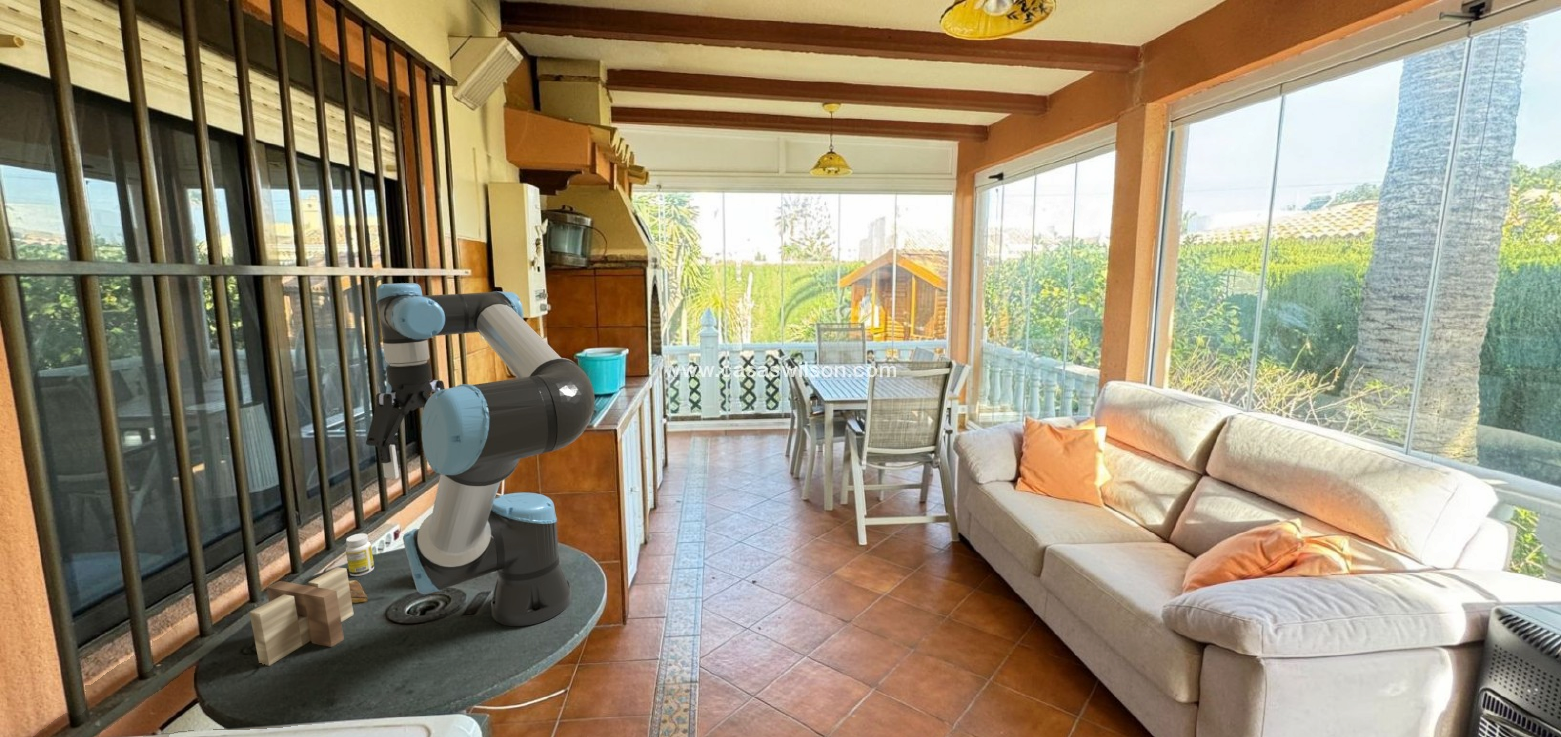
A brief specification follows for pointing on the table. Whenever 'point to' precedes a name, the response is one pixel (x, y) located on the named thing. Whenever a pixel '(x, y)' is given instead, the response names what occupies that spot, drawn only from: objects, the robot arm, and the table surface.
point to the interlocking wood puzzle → (294, 619)
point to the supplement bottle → (359, 555)
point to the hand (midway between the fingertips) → (421, 466)
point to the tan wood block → (314, 610)
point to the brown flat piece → (357, 592)
